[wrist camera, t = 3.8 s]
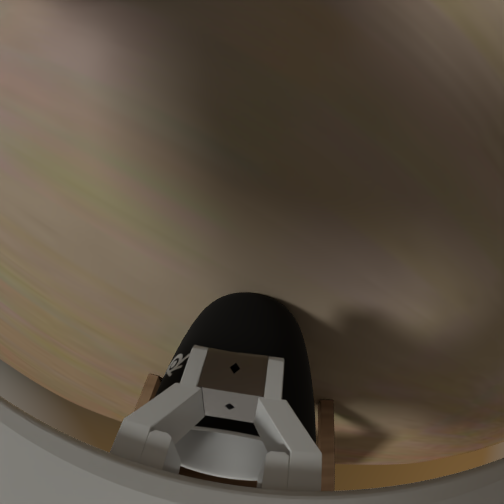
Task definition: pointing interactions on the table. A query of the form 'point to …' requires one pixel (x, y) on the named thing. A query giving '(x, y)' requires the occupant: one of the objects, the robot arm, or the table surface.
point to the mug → (251, 342)
